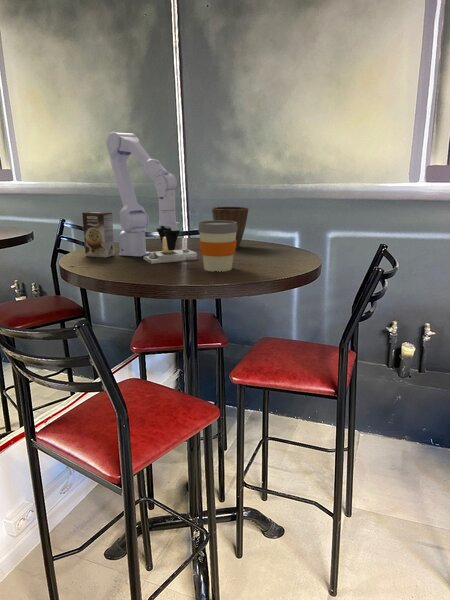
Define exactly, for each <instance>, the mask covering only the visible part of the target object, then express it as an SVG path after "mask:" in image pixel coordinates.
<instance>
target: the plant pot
mask: <svg viewBox="0 0 450 600" xmlns="http://www.w3.org/2000/svg"><path fill="white" fill-rule="evenodd" d="M211 214H212V219H213V220H224V221H234V222H237V232H236V240H237V241H236V249H239V248H240V245H241V243H242V240H243V236H244V233H245V229H246V226H247V225H246V224H247V221H248V215H249V207H245V206H244V207H243V206H216V207H212V208H211Z"/></svg>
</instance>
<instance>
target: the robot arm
mask: <svg viewBox="0 0 450 600" xmlns="http://www.w3.org/2000/svg"><path fill="white" fill-rule="evenodd" d="M105 144H106V147H107V152H108V154H109V160H110V164H111V168H112V172H113V175H114V178H115V181H116V184H117V185H116V187H117V188H118V193H119V196H120V200H121V203H122V208H121V209H120V211H118V212H119V213H118V214H119V215H118V216H119V224H120V226H121V228H122V231H120V233H119V234H118V235H119V236H118V245H119V247H118V248H119V253H118V256H127V257H130V256H131V257H142V256H143V257H144V256H147V255H149V252H150V251H147V246H146V231H147V228H148V227H149V225H150V218H149V215H148V214H147V212H146V211H145V207H143V206H142V205H141V204H140V203H138V199H137V196H136V192H135V189H134V188H135V187H134V185H133V181H132V177H131V174H130V171H129V166H128V163H127V161H128V160H129V159H130V158H131V157H132V156H134V157H135V158H136V159H137V160H138V161H139V162H140V163H141V165H143V171H144V172H145V173H146V175H147V176H149V178H150V179H151V180H152V181H153V184H154V189H155V190H156V195H157V197H158V216H159V219H158V220H159V221H158V227H157V228H156V231H157V233H158V235H159V238H160V243H161V244H162V237H166V240H167V247H168V250H176V244H177V240H178V236H179V234H180V233H181V230H180V229H179V227H178V225H180V222H179V221H177V218H176V214H177V213H176V211H177V210H176V191H177V189H178V187H179V180H178V178H177V176H176V174H174V173H170V172H169V171H168V170H167V169H165V167H164V166H163V165H162V164H161V161H160V160H159V159H155V158H151V156H150V154H149V153H148V152H147V151H146V149H145V148H144V147H143V146H142V145H141V143H140V139H139V137H137V135H136V134H134V133H132V132H129V133H128V132H127V133H126V132H125V133H124V132H116V131H111V132H110V133H109V134H108V136H107V139H106V142H105Z"/></svg>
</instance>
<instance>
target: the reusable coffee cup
mask: <svg viewBox="0 0 450 600" xmlns="http://www.w3.org/2000/svg"><path fill="white" fill-rule="evenodd" d="M197 228H198V229H197V231H198V233H199V240H198V242H199V249H200V254H201V255H202V262H203V269H204V271H207V272H214V271H217V272H218V271H219V273H220V272H221V271H222V272H228V271H231V270H232V269H233V263H234V262H233V261H234V255H235V254H236V249H237V248H236V241H237V240H236V232H237V222H234V221H224V220H204V221H203V220H202V221H199V222H198V227H197Z"/></svg>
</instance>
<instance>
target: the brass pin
mask: <svg viewBox="0 0 450 600" xmlns="http://www.w3.org/2000/svg"><path fill="white" fill-rule="evenodd" d="M161 246H162V250H161V251H162V254H164V255H167V254H174V250H168V247H167V240H166V237H162V243H161Z"/></svg>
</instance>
